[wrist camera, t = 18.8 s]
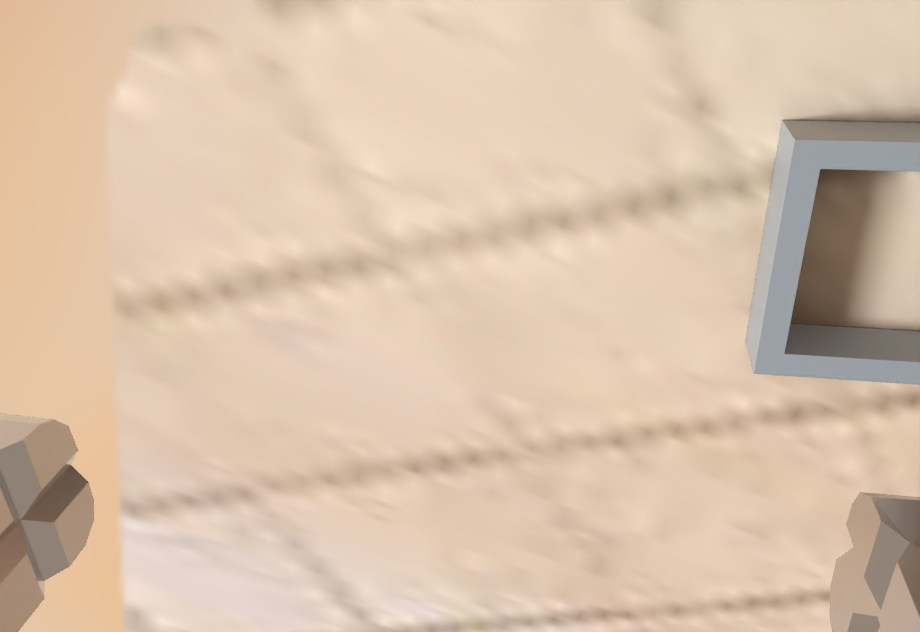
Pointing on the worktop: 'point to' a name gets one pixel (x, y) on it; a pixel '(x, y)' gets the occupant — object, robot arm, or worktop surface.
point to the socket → (783, 248)
